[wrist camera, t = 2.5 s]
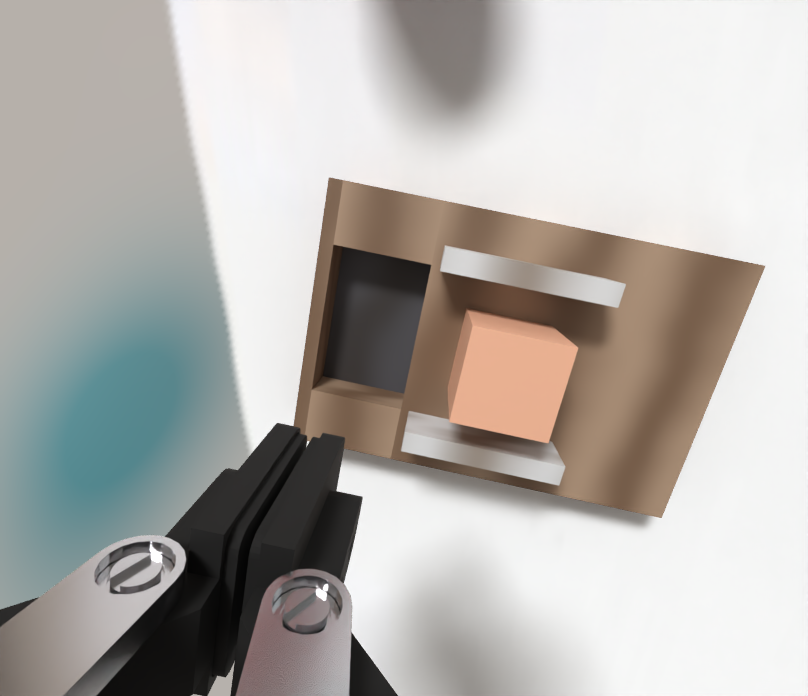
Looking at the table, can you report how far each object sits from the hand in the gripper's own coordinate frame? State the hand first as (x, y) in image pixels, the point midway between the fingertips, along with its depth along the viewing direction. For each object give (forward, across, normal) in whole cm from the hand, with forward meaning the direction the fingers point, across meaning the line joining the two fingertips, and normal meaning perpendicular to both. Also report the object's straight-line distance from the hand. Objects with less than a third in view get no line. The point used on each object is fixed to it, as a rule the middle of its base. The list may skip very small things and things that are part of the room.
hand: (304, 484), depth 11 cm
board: (+19, -8, 0) cm, 20 cm away
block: (+16, -7, 0) cm, 18 cm away
